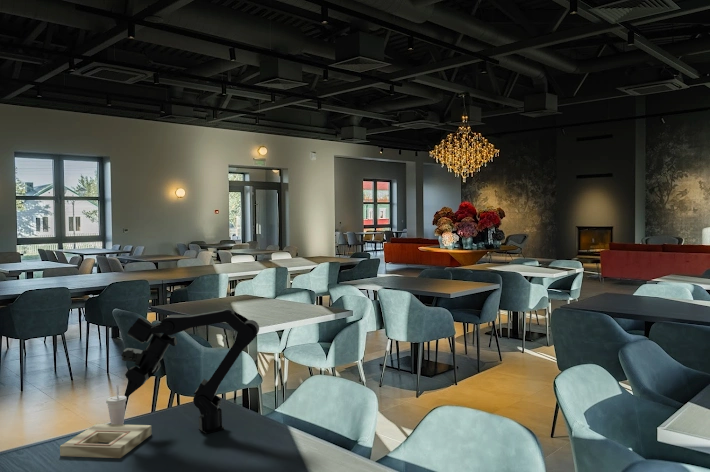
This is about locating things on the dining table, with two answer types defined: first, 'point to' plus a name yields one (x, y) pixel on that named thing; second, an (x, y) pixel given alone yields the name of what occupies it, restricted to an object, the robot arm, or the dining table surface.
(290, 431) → the dining table surface
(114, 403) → the smoothie
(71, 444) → the socket board
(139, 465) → the dining table surface
